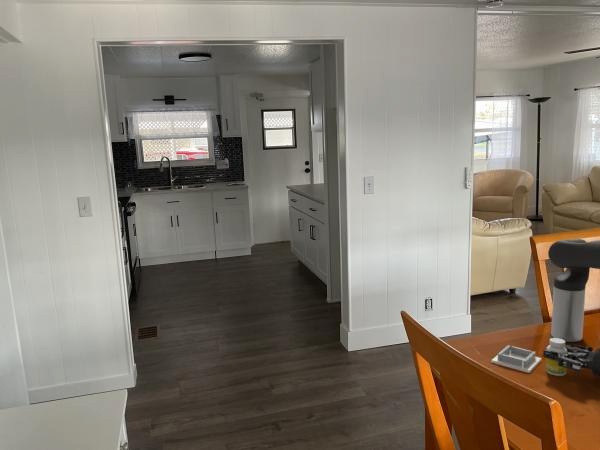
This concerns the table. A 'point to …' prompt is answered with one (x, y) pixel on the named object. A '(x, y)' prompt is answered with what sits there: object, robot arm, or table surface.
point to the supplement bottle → (552, 365)
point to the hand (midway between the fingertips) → (547, 350)
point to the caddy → (517, 359)
